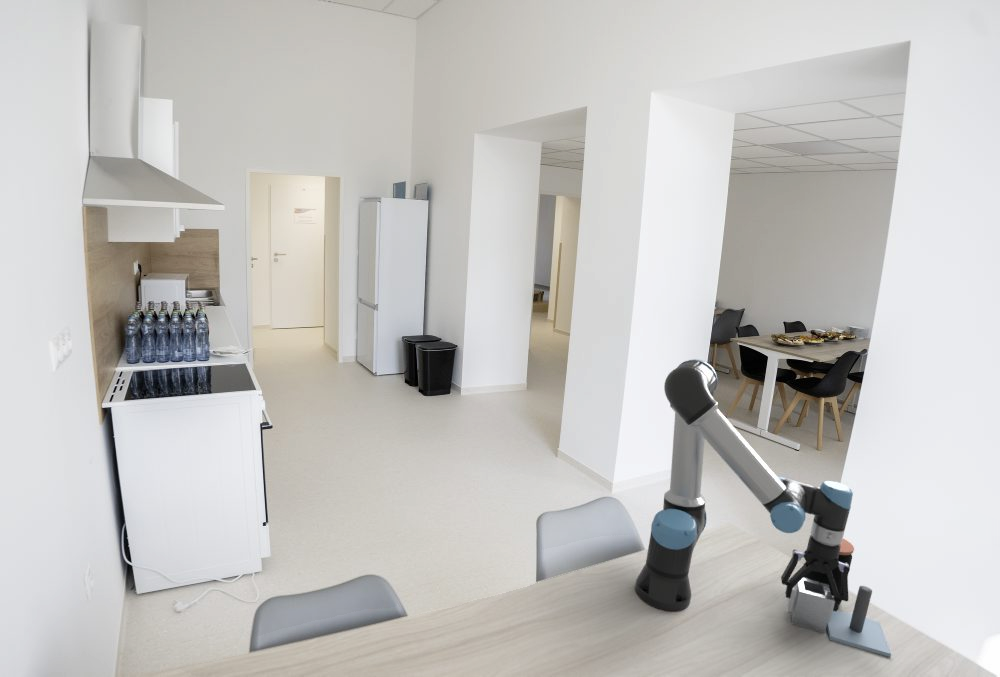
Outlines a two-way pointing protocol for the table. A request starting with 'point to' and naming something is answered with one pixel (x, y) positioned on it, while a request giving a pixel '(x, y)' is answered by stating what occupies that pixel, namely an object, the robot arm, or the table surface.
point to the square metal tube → (811, 605)
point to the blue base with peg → (858, 627)
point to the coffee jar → (843, 557)
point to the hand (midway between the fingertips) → (808, 613)
